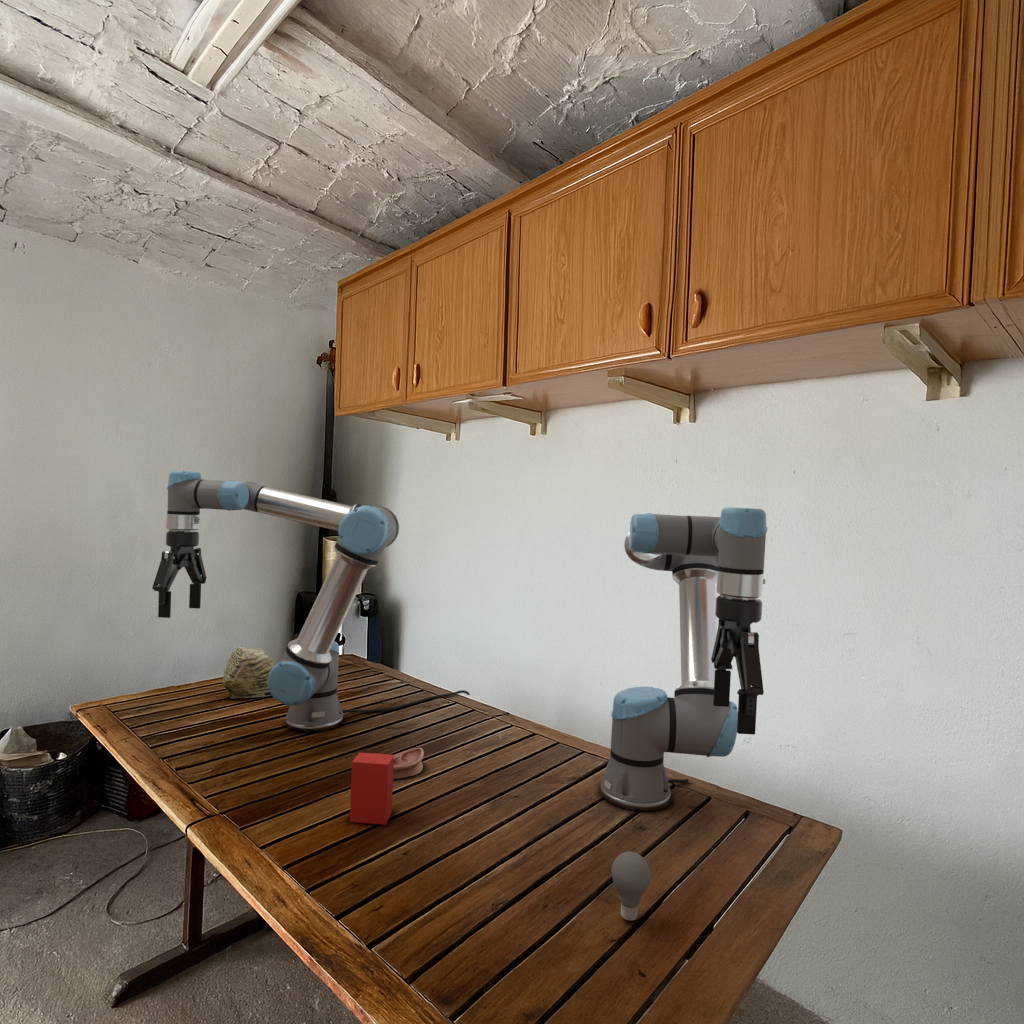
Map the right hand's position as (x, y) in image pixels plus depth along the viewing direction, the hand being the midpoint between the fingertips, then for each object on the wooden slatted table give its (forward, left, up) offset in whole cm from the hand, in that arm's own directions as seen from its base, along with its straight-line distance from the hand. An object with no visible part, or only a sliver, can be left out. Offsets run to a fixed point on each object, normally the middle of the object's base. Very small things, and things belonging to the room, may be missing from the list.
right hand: (732, 718), depth 110 cm
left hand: (+106, -85, +3) cm, 136 cm away
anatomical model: (+53, -54, -28) cm, 80 cm away
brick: (+59, -32, -28) cm, 73 cm away
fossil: (+91, -115, -28) cm, 150 cm away
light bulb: (+21, +6, -28) cm, 36 cm away
